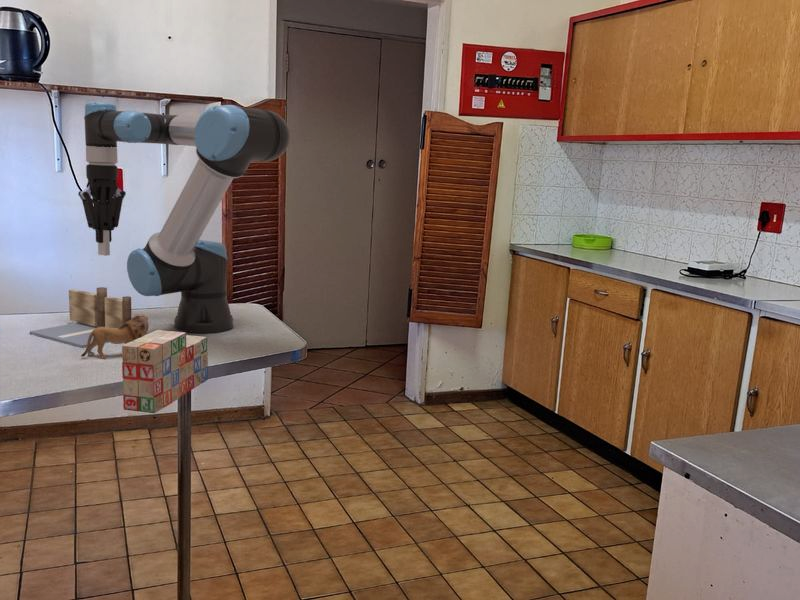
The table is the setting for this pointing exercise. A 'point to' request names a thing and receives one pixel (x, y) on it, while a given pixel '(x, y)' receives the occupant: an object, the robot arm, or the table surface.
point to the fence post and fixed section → (112, 309)
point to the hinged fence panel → (83, 307)
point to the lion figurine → (117, 334)
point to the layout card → (68, 334)
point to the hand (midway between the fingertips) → (104, 254)
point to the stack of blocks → (162, 369)
